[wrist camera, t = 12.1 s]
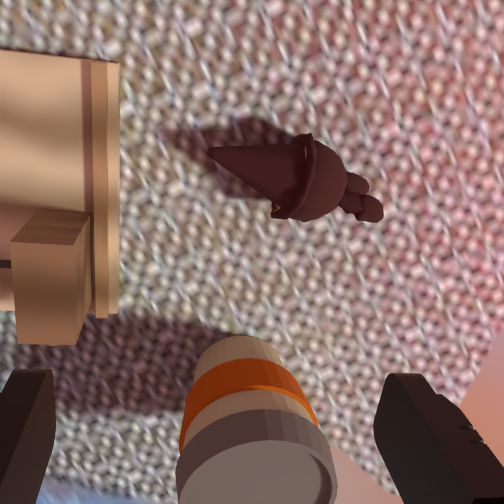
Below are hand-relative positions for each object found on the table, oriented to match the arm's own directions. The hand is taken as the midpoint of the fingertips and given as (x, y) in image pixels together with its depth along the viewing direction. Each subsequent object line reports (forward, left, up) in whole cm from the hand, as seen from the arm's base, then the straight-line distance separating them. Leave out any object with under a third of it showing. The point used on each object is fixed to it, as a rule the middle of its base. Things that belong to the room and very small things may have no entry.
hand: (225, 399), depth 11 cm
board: (+5, -13, -30) cm, 33 cm away
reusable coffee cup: (+23, +6, -30) cm, 39 cm away
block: (+10, -10, -28) cm, 32 cm away
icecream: (+1, +8, -30) cm, 31 cm away
